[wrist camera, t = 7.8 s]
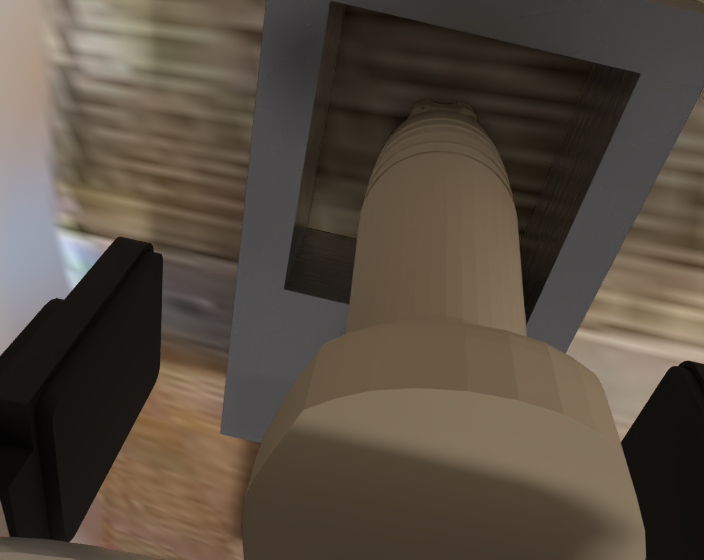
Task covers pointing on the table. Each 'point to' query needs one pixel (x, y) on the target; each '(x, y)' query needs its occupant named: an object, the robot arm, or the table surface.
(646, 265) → the table surface
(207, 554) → the table surface
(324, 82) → the socket block
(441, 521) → the handle
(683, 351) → the table surface
